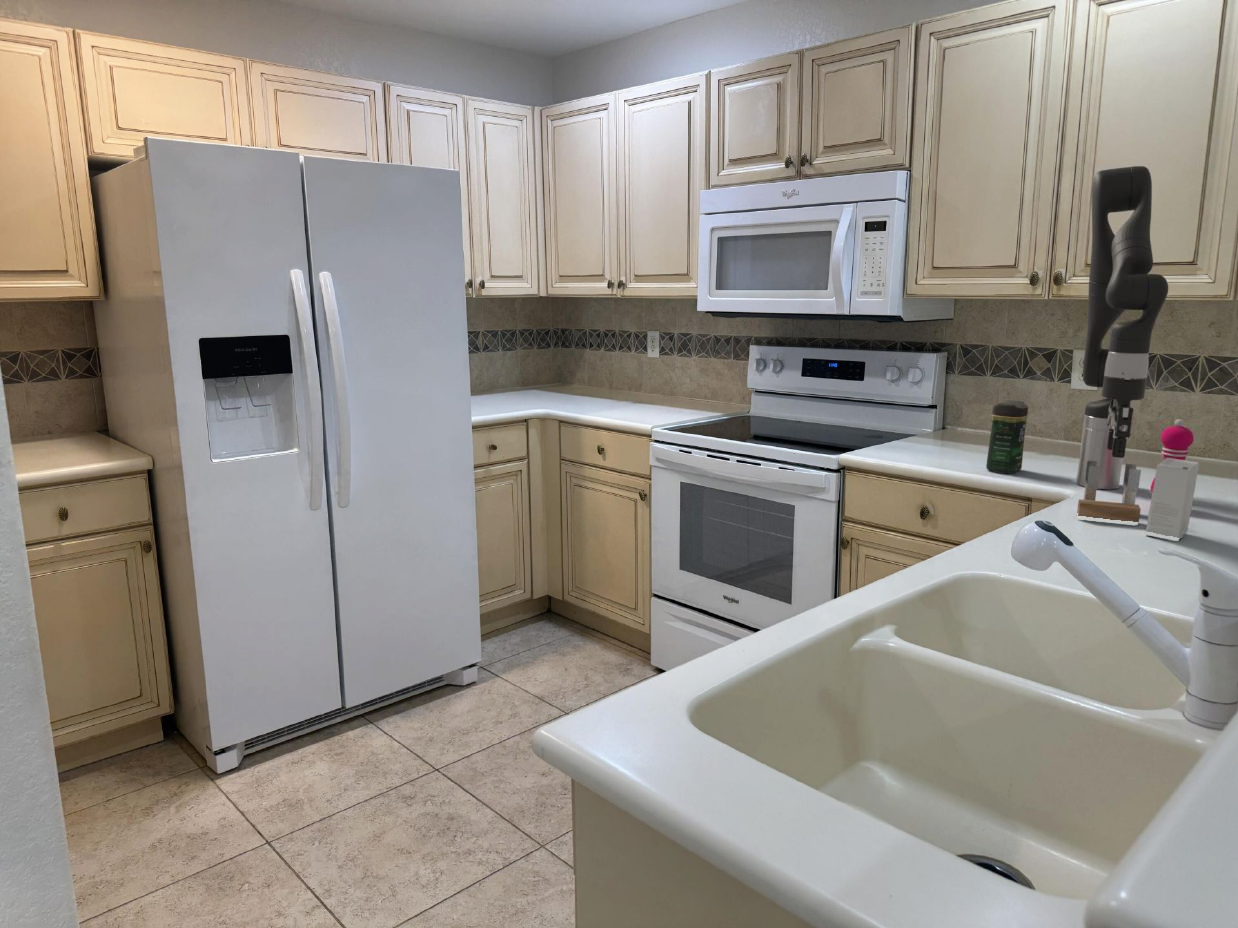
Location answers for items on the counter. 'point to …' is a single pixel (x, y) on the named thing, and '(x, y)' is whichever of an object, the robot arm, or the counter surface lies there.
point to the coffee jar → (1007, 437)
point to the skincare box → (1172, 497)
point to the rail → (1109, 510)
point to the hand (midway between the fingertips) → (1115, 453)
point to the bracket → (1129, 482)
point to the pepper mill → (1176, 442)
